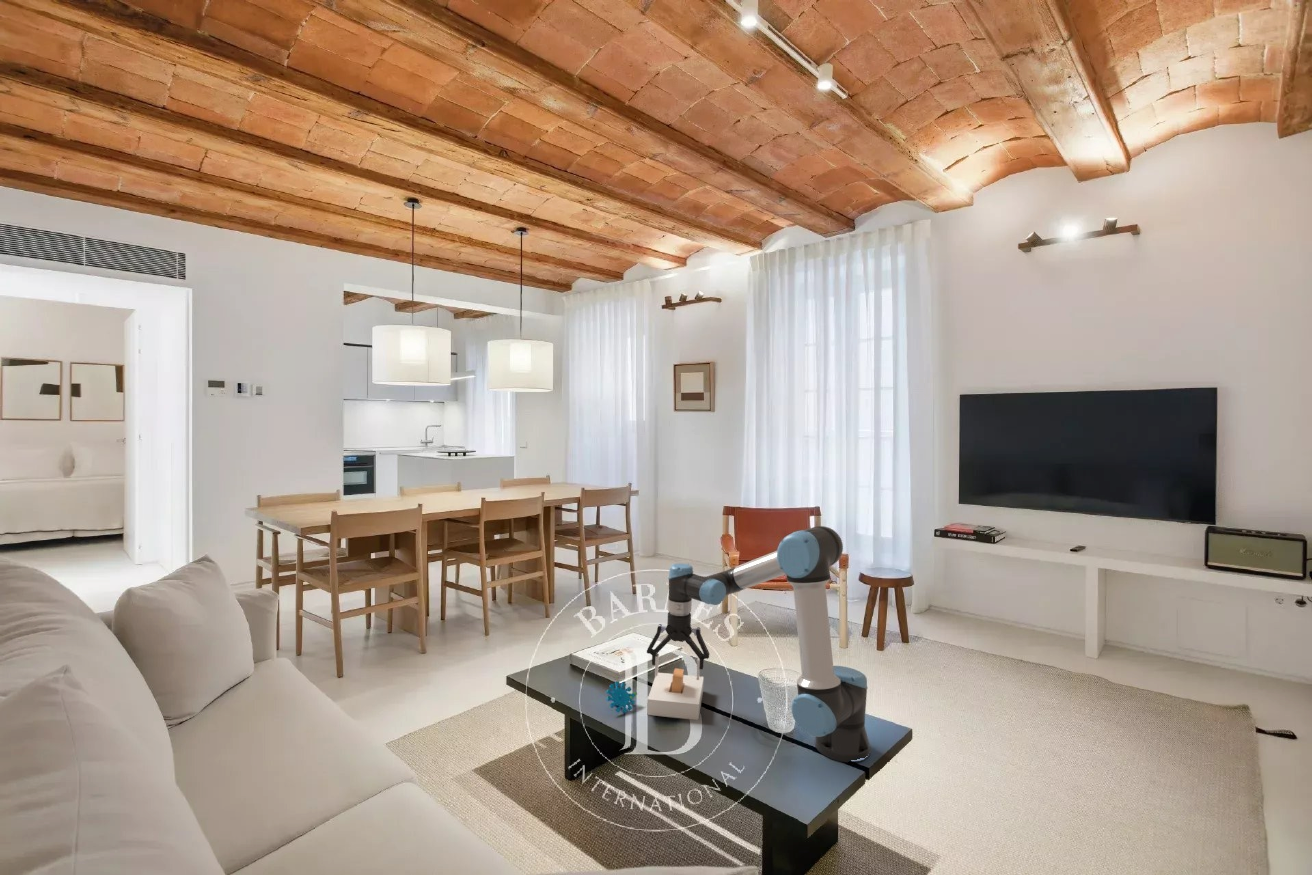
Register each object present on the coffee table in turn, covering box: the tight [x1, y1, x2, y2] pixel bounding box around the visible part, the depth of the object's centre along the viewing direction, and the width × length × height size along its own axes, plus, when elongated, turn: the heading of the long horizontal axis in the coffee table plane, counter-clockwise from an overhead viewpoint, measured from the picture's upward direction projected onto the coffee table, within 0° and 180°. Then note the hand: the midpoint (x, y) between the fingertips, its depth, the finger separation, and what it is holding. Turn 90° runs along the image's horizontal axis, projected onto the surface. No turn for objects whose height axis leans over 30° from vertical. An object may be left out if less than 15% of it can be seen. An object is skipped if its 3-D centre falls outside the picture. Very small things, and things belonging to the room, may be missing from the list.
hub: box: [646, 672, 705, 721], centre depth 216 cm, size 20×16×5 cm
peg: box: [672, 667, 685, 693], centre depth 216 cm, size 3×6×10 cm, turn 172°
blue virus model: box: [605, 680, 638, 714], centre depth 212 cm, size 11×6×10 cm
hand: (677, 676), depth 216 cm, fingers open, 13 cm apart
